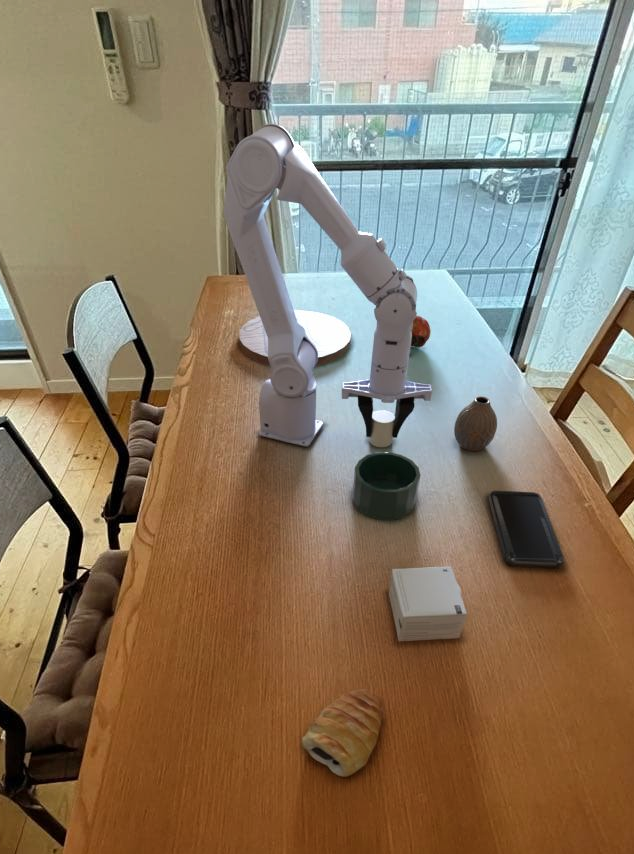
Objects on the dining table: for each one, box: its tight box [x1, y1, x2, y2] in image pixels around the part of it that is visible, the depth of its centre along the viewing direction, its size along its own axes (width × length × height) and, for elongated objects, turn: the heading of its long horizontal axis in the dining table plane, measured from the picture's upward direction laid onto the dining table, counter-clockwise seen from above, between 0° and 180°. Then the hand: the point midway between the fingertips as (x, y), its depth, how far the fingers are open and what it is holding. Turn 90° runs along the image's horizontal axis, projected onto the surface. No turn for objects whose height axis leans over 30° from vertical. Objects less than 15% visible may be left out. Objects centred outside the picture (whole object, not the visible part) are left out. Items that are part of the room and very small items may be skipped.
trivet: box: [238, 309, 352, 367], centre depth 124 cm, size 25×25×2 cm
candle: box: [368, 409, 395, 448], centre depth 96 cm, size 4×4×5 cm
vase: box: [453, 396, 498, 452], centre depth 94 cm, size 7×7×9 cm
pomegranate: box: [409, 311, 431, 355], centre depth 121 cm, size 7×7×10 cm
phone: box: [488, 490, 565, 569], centre depth 81 cm, size 8×1×15 cm
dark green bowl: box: [352, 451, 421, 521], centre depth 84 cm, size 10×10×6 cm
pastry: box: [301, 688, 384, 778], centre depth 58 cm, size 9×7×4 cm
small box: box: [388, 565, 468, 642], centre depth 68 cm, size 8×8×5 cm
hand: (381, 434), depth 97 cm, fingers closed on candle, 4 cm apart
